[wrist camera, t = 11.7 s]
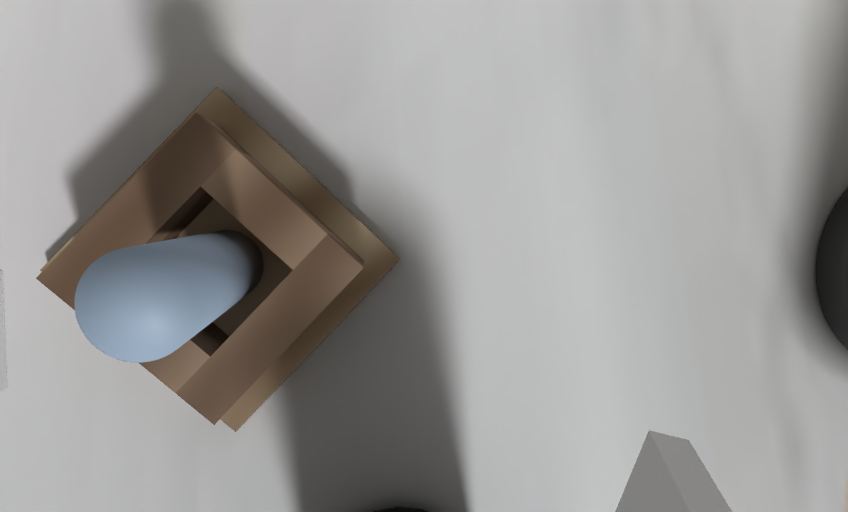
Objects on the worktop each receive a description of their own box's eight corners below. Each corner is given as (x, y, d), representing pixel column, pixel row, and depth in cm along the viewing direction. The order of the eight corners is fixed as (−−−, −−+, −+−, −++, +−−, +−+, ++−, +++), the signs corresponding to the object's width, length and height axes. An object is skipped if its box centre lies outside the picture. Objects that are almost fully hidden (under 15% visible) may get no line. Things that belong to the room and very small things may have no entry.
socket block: (398, 258, 32) (405, 266, 27) (238, 426, 31) (216, 464, 27) (220, 90, 30) (193, 67, 25) (48, 268, 29) (-13, 279, 25)
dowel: (278, 263, 30) (222, 301, 18) (230, 313, 30) (143, 385, 18) (224, 215, 29) (130, 222, 17) (175, 266, 29) (48, 309, 17)
